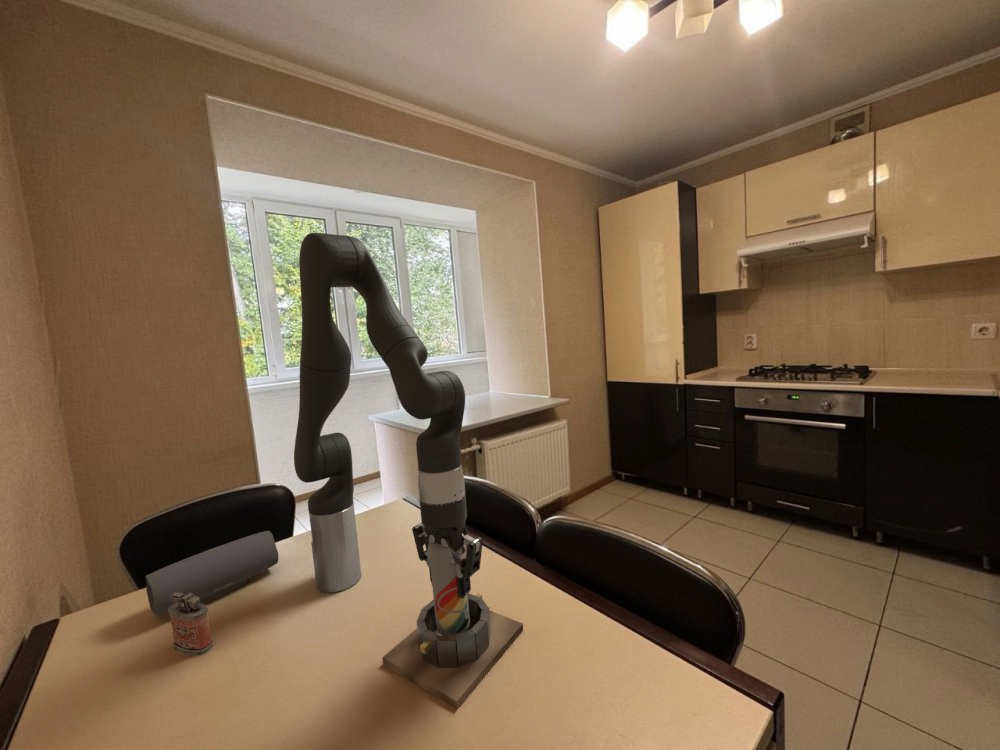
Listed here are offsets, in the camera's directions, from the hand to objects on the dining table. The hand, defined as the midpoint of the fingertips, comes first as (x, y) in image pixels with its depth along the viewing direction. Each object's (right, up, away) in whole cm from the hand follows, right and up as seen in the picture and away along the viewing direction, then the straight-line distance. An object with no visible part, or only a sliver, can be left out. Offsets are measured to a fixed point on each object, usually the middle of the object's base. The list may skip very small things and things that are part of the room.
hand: (450, 589), depth 69 cm
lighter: (-47, -13, +5) cm, 49 cm away
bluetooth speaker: (-54, -12, +22) cm, 60 cm away
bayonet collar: (+1, -9, +1) cm, 9 cm away
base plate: (+1, -10, +1) cm, 10 cm away
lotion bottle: (0, -7, +1) cm, 7 cm away
